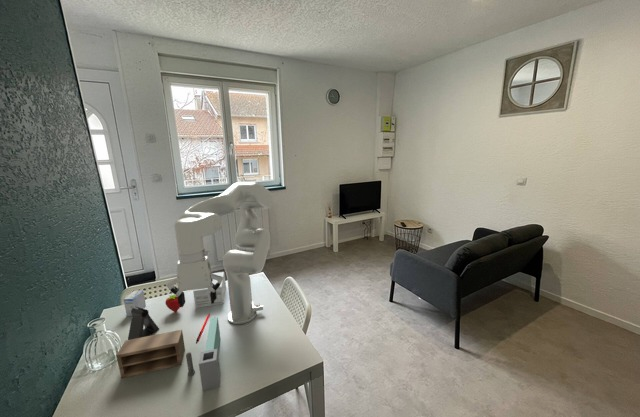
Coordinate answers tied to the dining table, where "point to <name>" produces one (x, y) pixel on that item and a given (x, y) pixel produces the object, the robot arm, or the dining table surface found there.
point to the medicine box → (134, 301)
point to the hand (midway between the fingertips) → (198, 303)
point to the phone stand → (141, 324)
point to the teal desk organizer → (211, 358)
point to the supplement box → (203, 295)
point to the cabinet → (153, 354)
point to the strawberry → (173, 303)
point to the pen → (202, 328)
